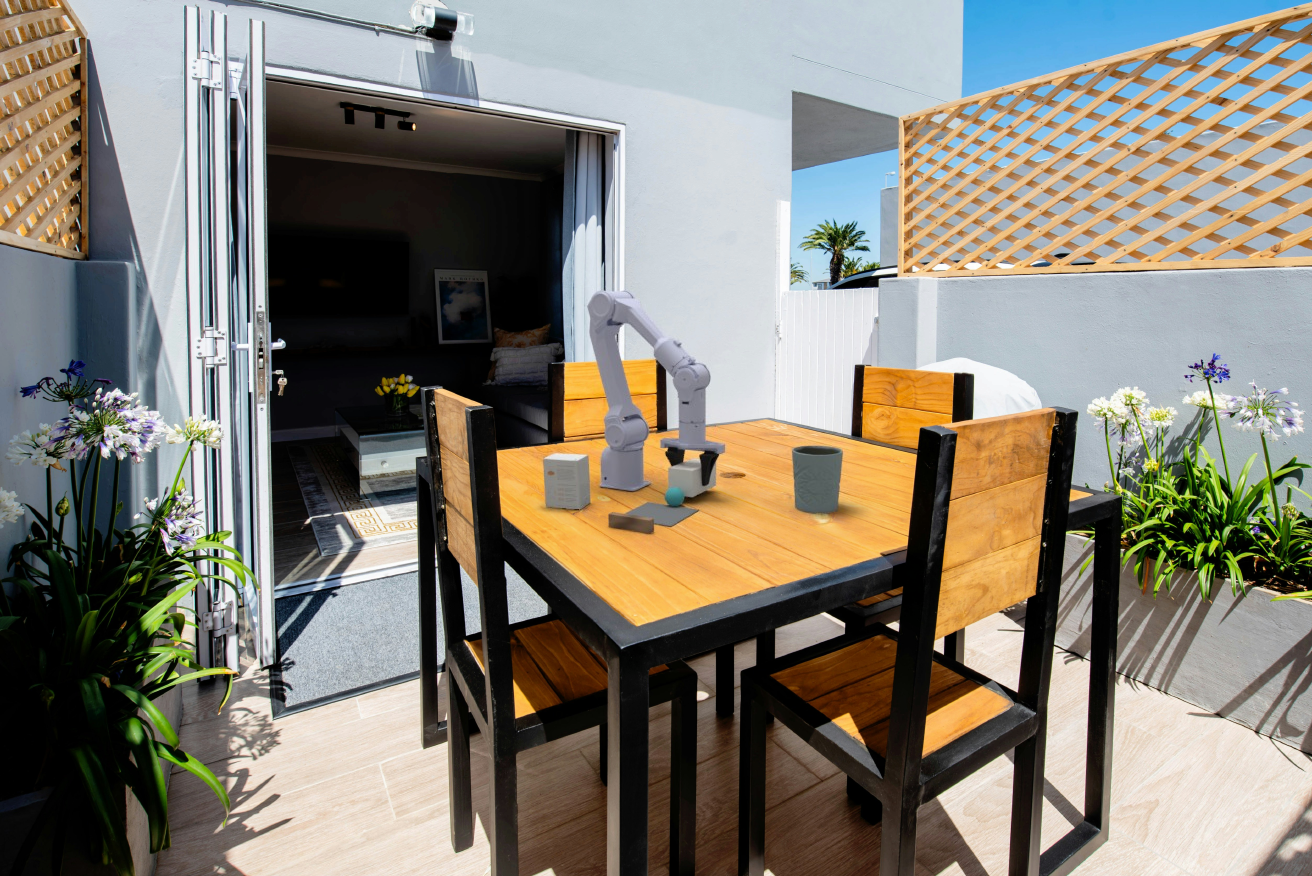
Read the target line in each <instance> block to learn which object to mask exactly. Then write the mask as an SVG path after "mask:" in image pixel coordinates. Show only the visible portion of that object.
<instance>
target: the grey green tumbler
mask: <svg viewBox="0 0 1312 876" xmlns="http://www.w3.org/2000/svg"><path fill="white" fill-rule="evenodd" d="M843 457H844V451H843V449H842V448H838V447H835V446H828V445H827V446H826V445H801V446H796V447H793V448H792V450H791V458H792V460H791V461H792V473H793V475H792V476H793V490H794V491H793V493H794V508H795V509H796V508H797V509H796V510H798V511H800V510H801V511H800V512H803V511H804V513H809V514H816V513H823V514H830V513H834V512H836V511H837V510H838V508H839V498H840V496H839V495H840V488H841V485H840V484H841V479H842V467H843V466H842V465H843Z"/></svg>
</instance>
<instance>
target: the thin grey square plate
mask: <svg viewBox="0 0 1312 876" xmlns="http://www.w3.org/2000/svg"><path fill="white" fill-rule="evenodd" d="M699 511H700V509H697V508H692V507H691V508H690V507H685V506H670V505H668V504H665V503H658V502H657V503H656V502H650V501H647V502H645V503H643V504H641V505H638V506H637V507H635V508H633V509H631V510H629V511H626V512H624V514H629V515H635V516H642V517H648V518H654V525H657V526H661V527H662V526H663V527H669V528H671V527H673V526H676V525H677V524H678V523H681V522H682V521H684V520H686V519H687V518H689V517H690V516H692V515H694V514H695V513H698V512H699Z"/></svg>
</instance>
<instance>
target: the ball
mask: <svg viewBox="0 0 1312 876" xmlns="http://www.w3.org/2000/svg"><path fill="white" fill-rule="evenodd" d="M684 499H685V496H684V493H683V491H682V490H681V489H679V488H677V487H672V488H670V489H668V488H667V490H666V491H665V494H664V500H665V502H666V505H670V506H678V507H680V506H681V505H682V503H683V502H684Z"/></svg>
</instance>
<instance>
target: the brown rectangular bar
mask: <svg viewBox="0 0 1312 876" xmlns="http://www.w3.org/2000/svg"><path fill="white" fill-rule="evenodd" d="M607 516H608V527H609V528H614V529H620V530H625V531H631V532H637V533H644V534H649V535H650V534H653V533H654V532H655V524H654V518H648V517H642V516H635V515H629V514H625V513H623V512H616V511H612V512H609V513H608V515H607Z"/></svg>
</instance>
